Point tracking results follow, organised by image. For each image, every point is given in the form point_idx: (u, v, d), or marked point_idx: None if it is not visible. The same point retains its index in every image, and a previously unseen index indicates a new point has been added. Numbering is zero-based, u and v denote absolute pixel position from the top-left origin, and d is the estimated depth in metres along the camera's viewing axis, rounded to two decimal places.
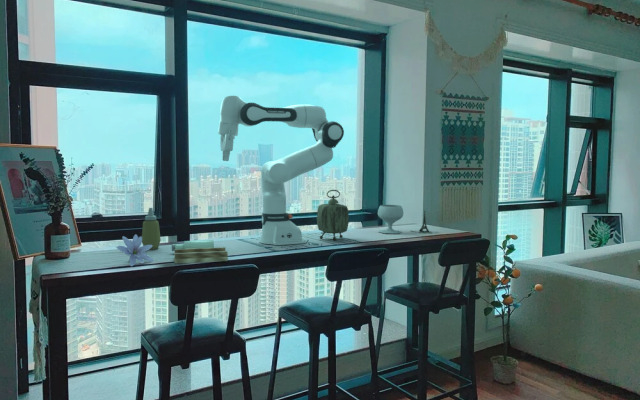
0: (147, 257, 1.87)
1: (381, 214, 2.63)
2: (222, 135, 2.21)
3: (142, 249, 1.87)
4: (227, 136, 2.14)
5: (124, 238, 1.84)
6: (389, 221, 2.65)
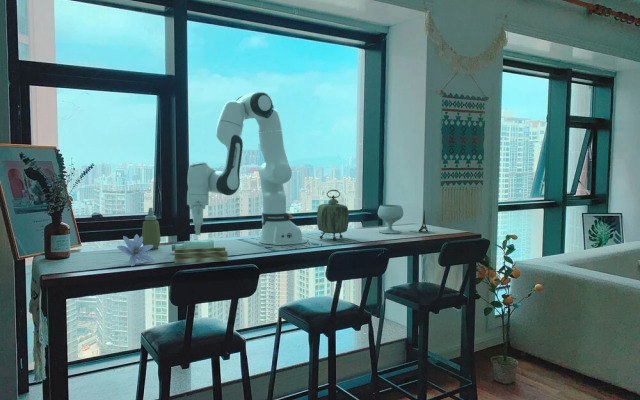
0: (148, 257, 1.87)
1: (381, 214, 2.63)
2: (191, 206, 2.03)
3: (143, 249, 1.87)
4: (196, 210, 1.97)
5: (125, 238, 1.84)
6: (389, 221, 2.65)
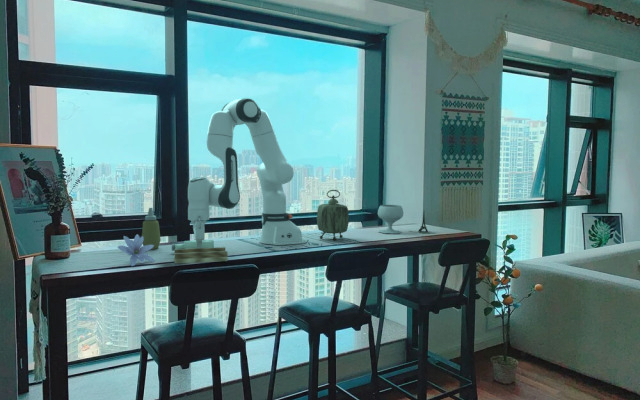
0: (148, 257, 1.87)
1: (381, 214, 2.63)
2: (192, 221, 2.04)
3: (143, 249, 1.87)
4: (197, 225, 1.97)
5: (125, 238, 1.84)
6: (389, 221, 2.65)
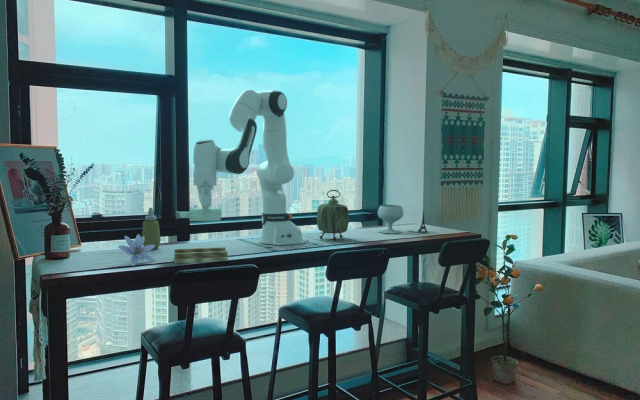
0: (149, 257, 1.87)
1: (381, 214, 2.63)
2: (198, 187, 1.89)
3: (144, 249, 1.88)
4: (203, 190, 1.82)
5: (126, 238, 1.85)
6: (389, 221, 2.65)
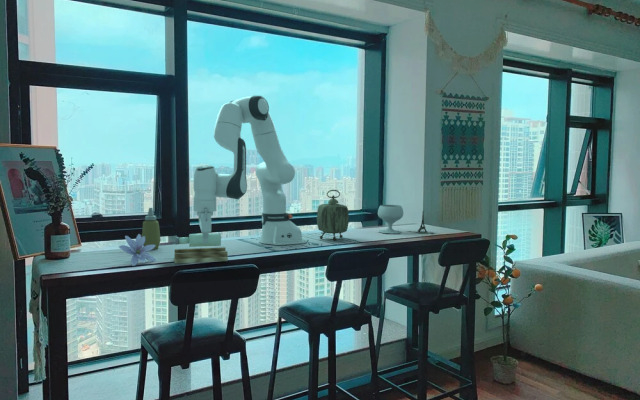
0: (150, 257, 1.87)
1: (381, 214, 2.63)
2: (198, 213, 1.90)
3: (145, 249, 1.88)
4: (203, 217, 1.83)
5: (127, 238, 1.85)
6: (389, 221, 2.65)
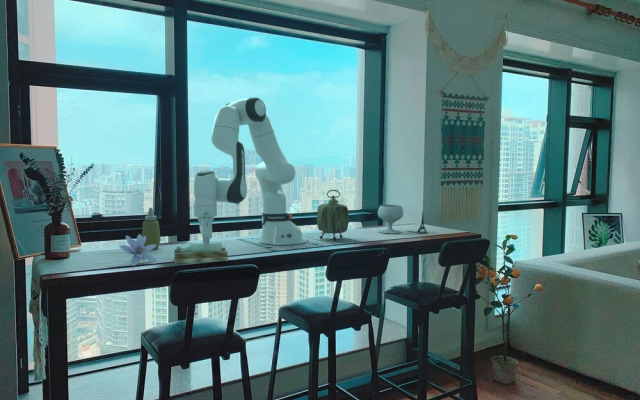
0: (150, 257, 1.87)
1: (381, 214, 2.63)
2: (199, 218, 1.90)
3: (145, 249, 1.88)
4: (204, 222, 1.83)
5: (128, 237, 1.85)
6: (389, 221, 2.65)
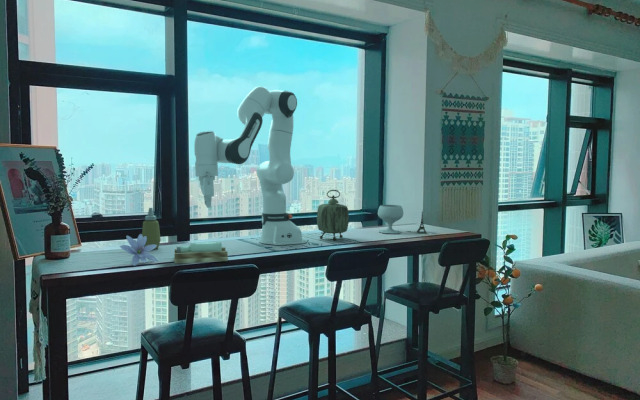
0: (151, 257, 1.87)
1: (381, 214, 2.63)
2: (200, 178, 1.93)
3: (146, 249, 1.88)
4: (205, 180, 1.86)
5: (128, 237, 1.85)
6: (389, 221, 2.65)
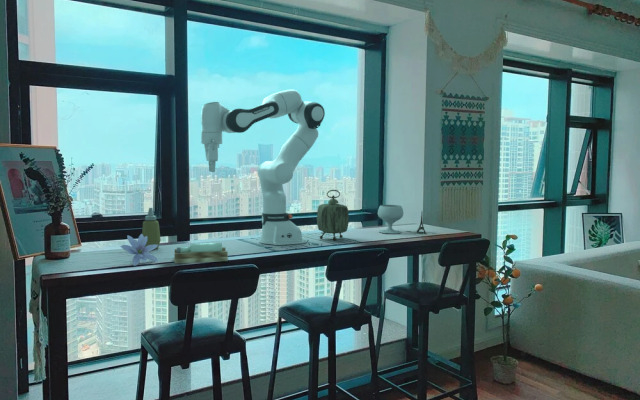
0: (151, 257, 1.87)
1: (381, 214, 2.63)
2: (206, 145, 2.08)
3: (147, 249, 1.88)
4: (210, 146, 2.01)
5: (129, 237, 1.86)
6: (389, 221, 2.65)
